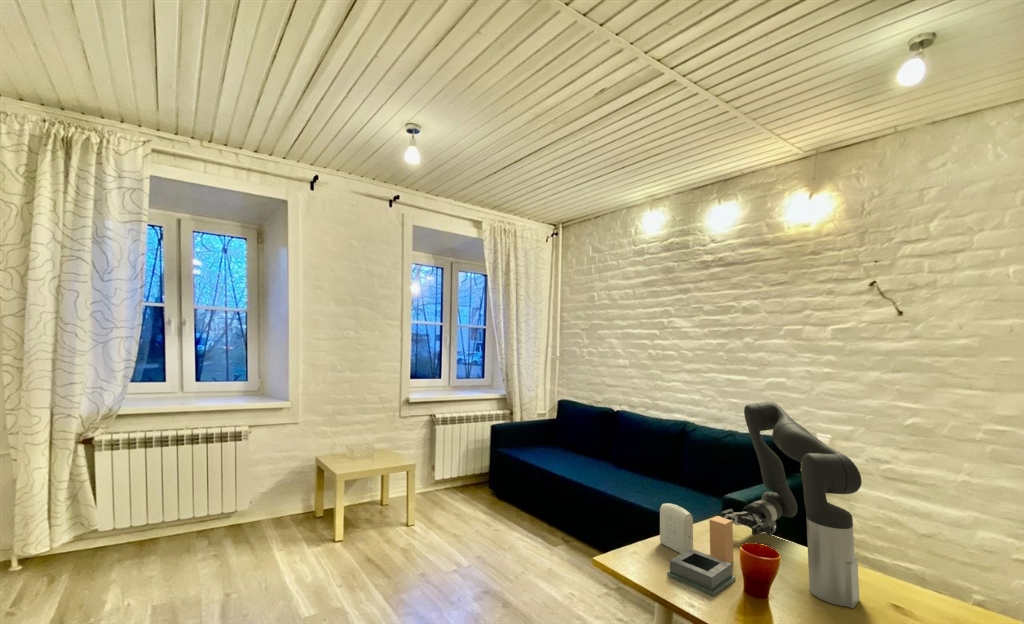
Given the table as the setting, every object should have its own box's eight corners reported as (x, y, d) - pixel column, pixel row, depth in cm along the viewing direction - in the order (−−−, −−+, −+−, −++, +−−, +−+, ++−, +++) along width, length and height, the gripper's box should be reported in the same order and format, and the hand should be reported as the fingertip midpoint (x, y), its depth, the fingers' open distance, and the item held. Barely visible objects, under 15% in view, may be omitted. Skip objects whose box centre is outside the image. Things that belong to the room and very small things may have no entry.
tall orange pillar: (733, 561, 122) (732, 520, 123) (726, 566, 119) (725, 524, 120) (717, 555, 125) (716, 515, 126) (710, 560, 122) (709, 519, 123)
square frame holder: (735, 580, 111) (734, 563, 112) (713, 596, 104) (713, 578, 104) (690, 562, 121) (690, 547, 121) (667, 576, 113) (667, 559, 113)
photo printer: (695, 554, 126) (695, 509, 127) (685, 557, 124) (684, 512, 125) (667, 540, 135) (667, 499, 136) (657, 543, 133) (657, 501, 134)
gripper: (736, 496, 146) (713, 507, 135) (784, 508, 135) (763, 521, 124) (737, 520, 145) (714, 532, 135) (785, 534, 134) (764, 548, 124)
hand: (737, 527), depth 129 cm, fingers open, 8 cm apart
